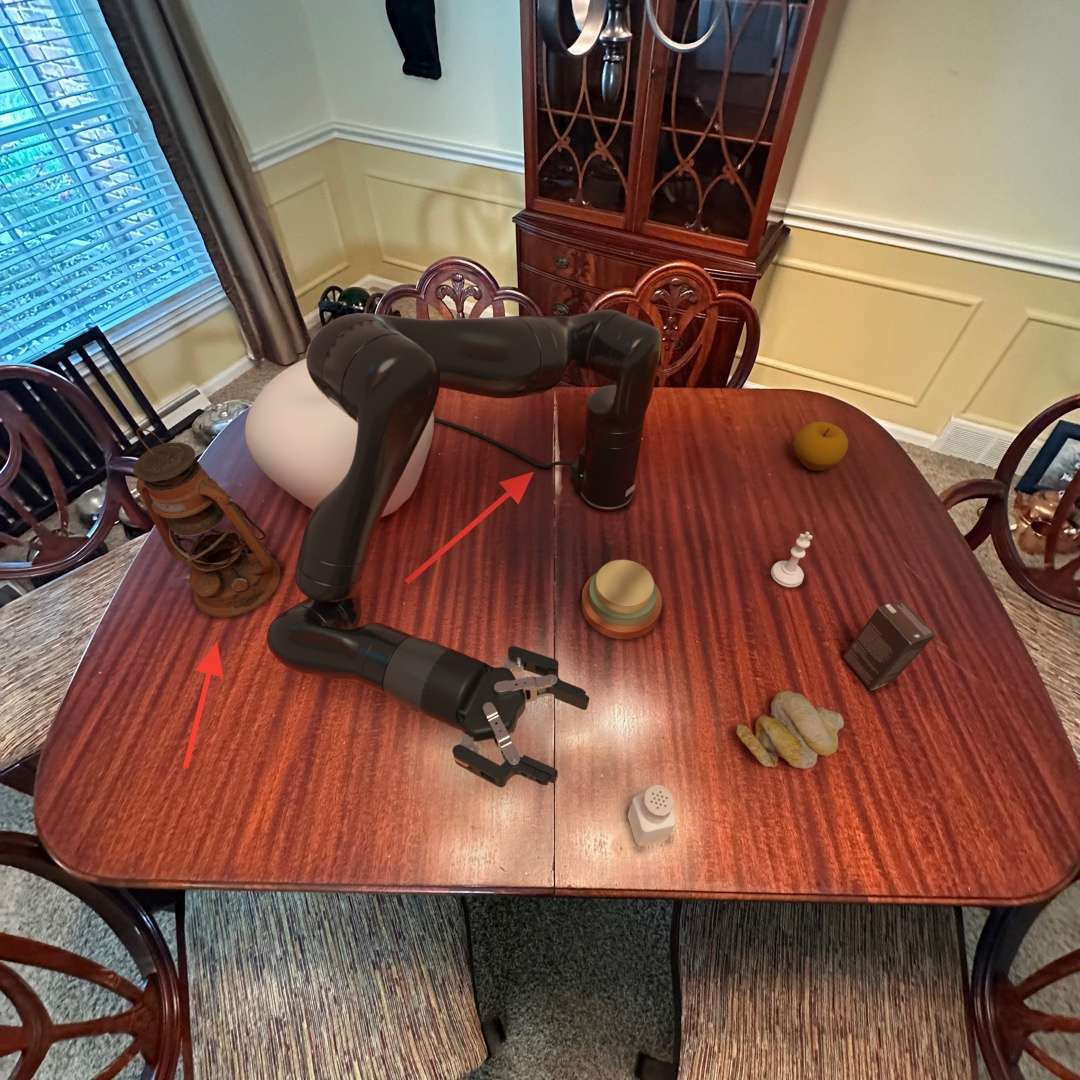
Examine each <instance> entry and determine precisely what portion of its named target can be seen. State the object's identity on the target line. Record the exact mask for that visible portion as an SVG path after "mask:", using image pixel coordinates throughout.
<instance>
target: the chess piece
mask: <svg viewBox="0 0 1080 1080" xmlns="http://www.w3.org/2000/svg"><path fill="white" fill-rule="evenodd" d="M812 539H813V535H810V531H805V533H799V536H798V537H797V538H796V540H795V546H793V547H792V548H791V549H790V554H791V557H790V558H789V559H788V560H779V561H777V562H775V563H774V564H773V565H772V567H771V569H770V574H771V577H772V579H773V580H774V581H775V583H777V584H779V585H781V586H783V587H786V588H796V587H799V586H800V585H801V584H802V583H803V581H804V578H805V574H804V570H803V569H802V568H801V567H800V565H798V564H799V560H800V559H803V558H804V557H805V556H806V549H808V548H809V547H810V546H811V541H810V540H812Z"/></svg>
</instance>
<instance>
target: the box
mask: <svg viewBox="0 0 1080 1080" xmlns="http://www.w3.org/2000/svg"><path fill="white" fill-rule="evenodd" d="M936 635H937V634H936V632H935V631H934V630H933V629H931V627H930V626H929V625H928V624H927V623H926V622H925V621H924V620H923V619H922V618H921V617H920V616H919V615H918V614H917V613H916V612H915V610H914V609H912V607H911V606H910V605H909V604H908V603H907V602H906V601H905V600H904V599H899V600H896V601H893V602H890V603H887V604H884V605H880V606H877V608H876V609H875V611H874V612H873V613H872V615H871V616H870V618H868V620H867V622H866V623H865V624H864V626H863V627H862V629H861V630H860V631H859V633H858V634H857V635H856V637H855V638H854V640H853V641H852V642H851V643H850V645H849V647H848V648H847V649H846V651H844V653H843V655H842V658H843V659H844V661H845V662H846V663H847V664H848V666H849V667H850V668H851V669H852V671H853V672H854V673H855V674H856V675H857V677H858V678H859V679H860V681H861V682H862V683H863V684H864V686H865V687H866V688H867V689H868V690H869V691H874V690H876V689H878V688H882V687H884V686H887V685H889V684H891V683H894V682H895V680H897V678H898V677H899V676H900V675H901V674H902V673H903V672H904V671H905V670H906V669H907V667H909V665H910V664H911V663H912V662H913V661H914V660H915V659H916V658H917V656H918V655H919V654H920V653H921V652H922V651H923V650H924V648H926V646H927V645H928V644H929V643H930V642H931V641H932V640H933V639H934V638H935V637H936Z"/></svg>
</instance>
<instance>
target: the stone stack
mask: <svg viewBox="0 0 1080 1080" xmlns="http://www.w3.org/2000/svg"><path fill="white" fill-rule="evenodd" d="M844 725H845V721H844V717H843V715H842V714H841V713H840V712H836V711H833V710H830V709H826V708H825V707H823V706H816V707H815V706H813V705H812V703H810V701H809V700H808V699H807V698H806V697H805V696H804V695H803V694H801V693H800V692H794V691H791V690H782V691H779V692H777V693H776V694H775V695H774V697H773V699H772V701H771V703H770V716H768V715H761V716H759V717H758V718H757V719H756V721H755V725H754V726H755V735H754V734H753V732H752V730H750V728H749V727H748V726H746V725H744V724H738V725H737V727H736V735H737V737H738V738H739V739H740V741H741V742H742V743H743V744H744V745H745V746H746V747H747V748H748V750H749V752H750V753H751V754H752V755H754V756H755V758H756V759H757V761H758V762H759V763H760V764H761V765H762V766H763V767H767V768H776V767H777V766H778V763H779V757H780V758H782V759H784V761H785V762H787V763H788V764H789V765H790V766H792V767H794V768H795V769H804V770H805V769H809V768H812V767H814V766H815V765H816V763H817V762H818V760H817V759H818V755H820V756H825V757H829V756H830V755H833V754H834V753H836V751H837V749H838V747H839V736H838V733H839V730H841V729H843V728H844Z"/></svg>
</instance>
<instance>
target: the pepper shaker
mask: <svg viewBox="0 0 1080 1080" xmlns="http://www.w3.org/2000/svg"><path fill="white" fill-rule="evenodd" d="M674 799H675V798H674V796H673V794H672V792H671V791H670V789H669V788H667V787H666V786H664V785H661V784H653V785H651V786H650V787H647V788H646V791H645V792H643V793H640V794H637V795H635V796H633V798H632V801H631V804H630V807H629V809H628V813H627V818H628V822H629V825H630V829H631V831H632V835H633V838H634V841H635V844H636V845H637V846H639V847H645V846H648V845H652V844H657V843H661V842H664V841H666V840H668V839H669V837H670V836H671V834H672V832H673V830H674V828H675V826H676V823H677V819H676V815H675V811H674V809H673V808H674V806H675V800H674Z"/></svg>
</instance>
